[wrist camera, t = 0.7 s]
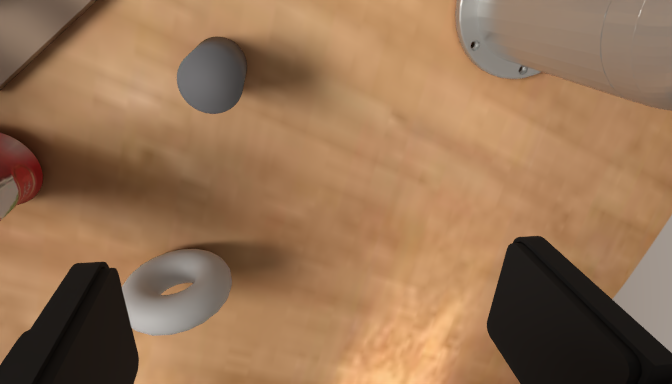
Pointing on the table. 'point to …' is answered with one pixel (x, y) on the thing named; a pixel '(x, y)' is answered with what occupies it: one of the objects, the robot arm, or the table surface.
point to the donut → (179, 308)
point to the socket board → (32, 30)
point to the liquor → (17, 174)
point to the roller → (213, 75)
